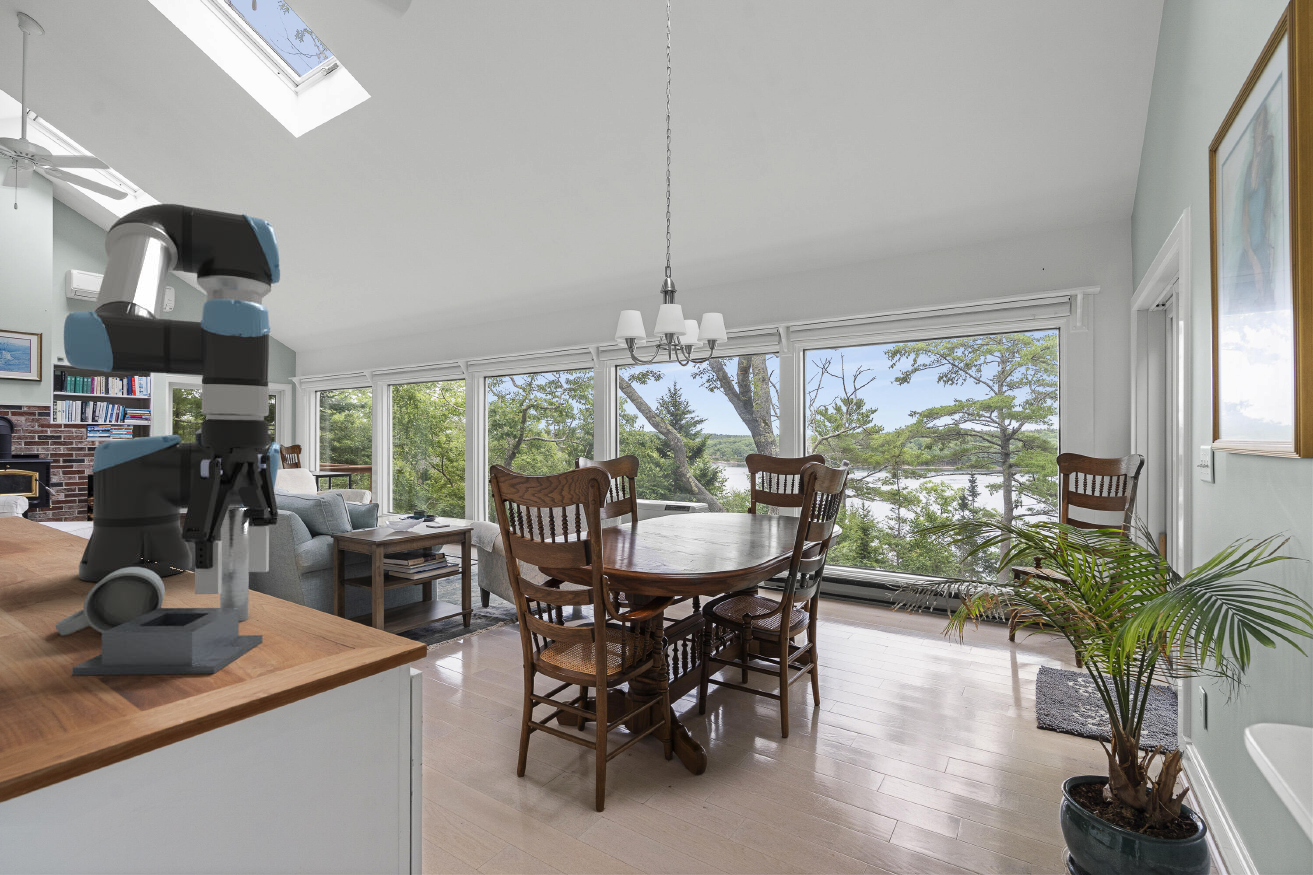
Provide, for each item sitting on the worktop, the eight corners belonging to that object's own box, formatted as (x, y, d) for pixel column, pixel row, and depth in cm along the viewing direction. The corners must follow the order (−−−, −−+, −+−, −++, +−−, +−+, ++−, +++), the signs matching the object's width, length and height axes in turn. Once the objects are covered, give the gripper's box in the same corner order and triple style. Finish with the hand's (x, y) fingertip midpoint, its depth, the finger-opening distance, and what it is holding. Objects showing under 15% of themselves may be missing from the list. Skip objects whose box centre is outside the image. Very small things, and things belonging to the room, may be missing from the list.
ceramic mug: (166, 613, 90) (165, 557, 89) (162, 629, 83) (161, 569, 82) (62, 627, 84) (61, 567, 83) (50, 646, 77) (48, 581, 76)
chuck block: (139, 642, 78) (139, 606, 78) (262, 641, 79) (262, 606, 79) (72, 675, 68) (72, 634, 68) (214, 673, 69) (214, 633, 69)
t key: (195, 623, 86) (196, 509, 85) (209, 616, 89) (210, 506, 88) (259, 623, 86) (260, 510, 86) (271, 615, 89) (272, 506, 89)
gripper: (252, 417, 98) (251, 562, 99) (144, 417, 75) (143, 606, 75) (304, 418, 99) (303, 562, 99) (213, 418, 75) (212, 606, 76)
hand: (234, 581), depth 87 cm, fingers open, 11 cm apart
